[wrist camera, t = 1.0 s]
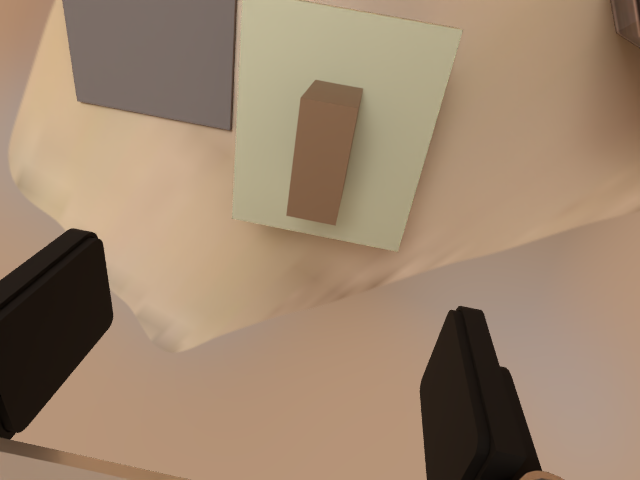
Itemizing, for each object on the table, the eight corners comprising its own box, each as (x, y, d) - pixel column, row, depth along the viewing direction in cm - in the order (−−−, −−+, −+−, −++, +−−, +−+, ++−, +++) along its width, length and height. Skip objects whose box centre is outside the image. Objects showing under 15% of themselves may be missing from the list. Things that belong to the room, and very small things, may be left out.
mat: (46, -137, 25) (41, -139, 25) (241, -105, 25) (238, -106, 25) (80, 99, 33) (77, 101, 32) (231, 128, 32) (229, 130, 32)
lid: (254, -10, 23) (209, -10, 17) (456, 26, 22) (480, 39, 17) (241, 204, 30) (206, 255, 24) (397, 235, 29) (399, 294, 23)
